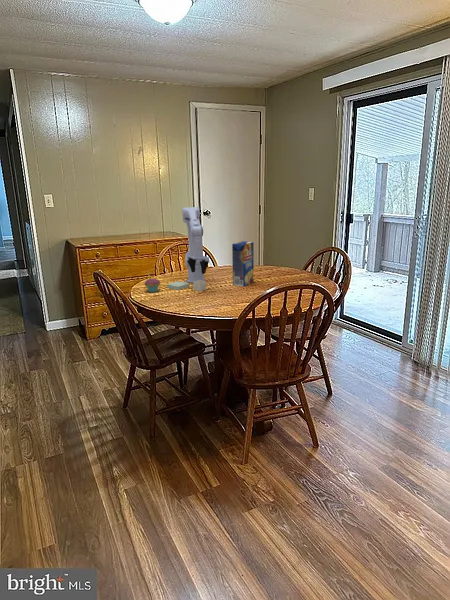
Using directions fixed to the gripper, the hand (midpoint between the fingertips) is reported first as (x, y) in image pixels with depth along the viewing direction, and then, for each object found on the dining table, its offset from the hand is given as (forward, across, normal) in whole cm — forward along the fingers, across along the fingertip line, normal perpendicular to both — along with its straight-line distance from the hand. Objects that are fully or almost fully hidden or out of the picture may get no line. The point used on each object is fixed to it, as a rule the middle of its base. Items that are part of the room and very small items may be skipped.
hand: (198, 272), depth 225 cm
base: (+10, -14, -2) cm, 17 cm away
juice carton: (+10, +12, +26) cm, 30 cm away
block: (+10, 0, +1) cm, 10 cm away
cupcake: (+10, -20, -16) cm, 28 cm away
